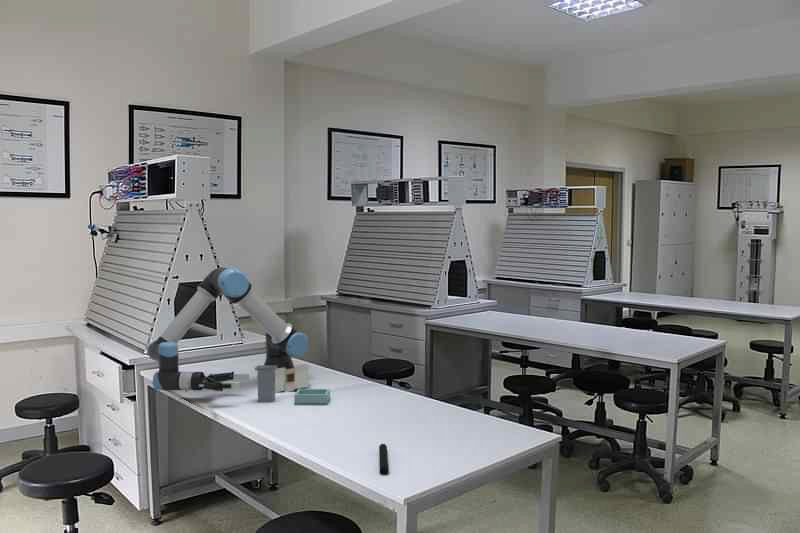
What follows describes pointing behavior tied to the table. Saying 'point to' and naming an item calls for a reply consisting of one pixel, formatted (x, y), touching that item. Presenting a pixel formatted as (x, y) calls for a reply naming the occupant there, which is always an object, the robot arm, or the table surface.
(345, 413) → the table surface
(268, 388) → the brushed metal pillar
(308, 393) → the tray
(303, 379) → the wall
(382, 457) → the gadget
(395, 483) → the table surface
